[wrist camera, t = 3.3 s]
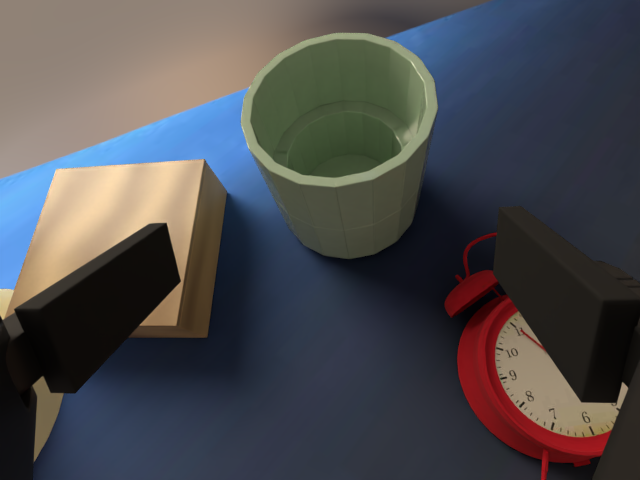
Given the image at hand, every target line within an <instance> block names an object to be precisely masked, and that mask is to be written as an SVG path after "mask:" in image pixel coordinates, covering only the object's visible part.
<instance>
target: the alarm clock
mask: <svg viewBox="0 0 640 480" xmlns="http://www.w3.org/2000/svg"><path fill="white" fill-rule="evenodd" d="M496 235H497V232H496V233H491V234H488V235H485V236H482V237H479V238H477V239H476V240H474V241H472V242H471V243H470V244H469V245H468V246H467V247H466V249H465V250H464V254H463V263H464V267H465V271H466V278H465V279H464V280H463V279H462V278H461V277H460V276H459V275H456V276H455V278H456V279H457V280H458V281H459V282H460V284H458V285H457V286H456V287H455V288H454V289H453V290H452V291H451V292H450V293H449V295H448V296H447V298H446V300H445V304H444V305H445V309H446V311H447V313H448V314H449V315H450V317H451V318H452V317H454V316H456V315H457V314H459V313H461V312H462V311H464V310H465V309H466V308H468V307H469V306H471V305H472V304H474V303H475V302H476V301H478V300H479V299H480V298H482V297H483V296H484V295H486V294H487V293H488V292H489V291H491V290H493V291H494V292H495V293H496V294H497V295H498V296H499V297H497V298H495V299H493V300H491V301H490V302H488V303H487V304H485V305H484V306H483V307H482V308H480V309H479V310H478V311H477V312H476V313H475V314H474V315H473V316H472V318H471V319H470V320H469V322H468V323H467V325H466V327H465V329H464V330H463V333H462V336H461V338H460V342H459V346H458V354H457V366H458V374H459V379H460V383H461V386H462V389H463V392H464V395H465V397H466V399H467V401H468V403H469V405H470V407H471V408H472V410H473V411H474V413H475V414H476V416H477V417H478V418H479V420H480V421H481V422H482V423H483V424H484V425H485V427H486V428H487V429H488V430H489V431H490V432H491V433H493V434H494V435H495V436H496V437H497V438H499V439H500V440H501V441H502V442H504V443H505V444H507V445H508V446H510V447H512V448H513V449H515V450H517V451H519V452H521V453H524V454H526V455H528V456H531V457H534V458H537V459H541V460H542V468H541V470H542V476H541V480H546V476H547V472H548V462H549V461H550V462H559V463H574V466H573V467H578V466H582V465H587V464H591V463H590V460H589V459H591V458H594V457H599V456H601V455H602V453H603V450H604V448H605V445H606V443H607V440H608V438H609V435H610V433H611V430H612V428H613V425H614V423H615V420H616V418H617V415H618V413H619V410H620V408H621V405H622V403H623V400H624V398H625V395H626V393H627V390H628V387H627V386H626V385H625V384H624V383H623V382H622V386H621V390H620V394H619V398H618V401H617V403H581V401H580V400H579V398H578V397H577V396H576V394H575V393H574V391H573V390H572V388H571V387H570V385H569V384H568V382H567V381H566V380H565V378H564V377H563V375H562V374H561V372H560V371H559V369H558V368H557V366H556V365H555V364H554V362H553V361H552V359H551V358H550V356H549V355H548V353H547V352H546V350H545V349H544V348H543V346H542V345H541V343H540V342H539V340H538V339H537V337H536V336H535V334H534V333H533V332H532V330H531V329H530V327H529V326H528V324H527V323H526V321H525V320H524V318H523V317H522V316H521V314H520V313H519V311H518V310H517V308H516V307H515V305H514V304H513V302H512V301H511V300H510V298H509V297H508V295H507V294H506V295H503V296H501V295H500V294H499V293H498V292H497V291H496V290H495V289H494V287H495V286H497V285H498V284H499V282H498V281H497V279H496V278H495V276H494V275H493V271H490V270H483V271H480V272H477V273H475V274H473V275H471V276H470V272H469V268H468V264H467V253H468V251H469V249H470V248H471V247H472V246H473V245H474V244H476V243H477V242H479V241H481V240H484V239H487V238H490V237H494V236H496Z"/></svg>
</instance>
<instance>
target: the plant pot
mask: <svg viewBox="0 0 640 480" xmlns="http://www.w3.org/2000/svg"><path fill="white" fill-rule="evenodd" d="M437 111H438V103H437V96H436V88H435V81H434V79H433V77H432V76H431V74H430V73H429V71H428V70H427V68H426V67H425V65H424V64H423V62H422V61H421V59H420V58H419V57H418V56H416V55H415V54H413V53H412V52H410V51H409V50H407V49H406V48H404V47H403V46H402V45H400V44H399V43H397V42H395V41H392V40H388V39H385V38H381V37H378V36H375V35H371V34H367V33H333V34H329V35H325V36H321V37H316V38H312V39H308V40H305V41H303V42H301V43H299V44H297V45H295V46H293V47H292V48H289V49H287V50H285V51H284V52H281V53H280V54H278V55H277V56H276V57H275V58H274V59H273V60H271V61H270V62H269V63H268V64H267V65H266V66H265V67H264V68H263V69H262V70H261V71H259V72H258V74H257V75H256V77H255V79H254V81H253V82H252V84H251V86H250V88H249V89H248V91H247V93H246V95H245V97H244V101H243V109H242V116H241V127H242V130H243V133H244V136H245V139H246V142H247V145H248V148H249V150H250V152H251V154H252V156H253V158H254V160H255V162H256V164H257V166H258V168H259V170H260V172H261V174H262V176H263V178H264V180H265V182H266V184H267V186H268V188H269V190H270V192H271V194H272V196H273V198H274V200H275V202H276V204H277V206H278V208H279V210H280V212H281V214H282V216H283V218H284V220H285V222H286V224H287V226H288V227H289V229H290V230H291V231H292V232H293V234H294V235H295V236H296V237H297V238H298V239H299V240H300V242H301V243H302V244H303V245H305V246H306V247H308V248H310V249H312V250H314V251H316V252H318V253H320V254H322V255H325V256H330V257H337V258H344V259H353V258H358V257H363V256H368V255H373V254H376V253H378V252H379V251H381V250H383V249H385V248H386V247H388V246H390V245H392V244H393V243H395V242H396V241H397V240H398V239H399V238H400V237H401V236H402V234H403V233H404V232H405V231H406V230H407V229H408V227H409V226H410V225H411V224H412V221H413V218H414V215H415V212H416V209H417V206H418V203H419V198H420V193H421V188H422V184H423V179H424V174H425V169H426V164H427V159H428V155H429V150H430V145H431V140H432V135H433V130H434V126H435V121H436V116H437Z"/></svg>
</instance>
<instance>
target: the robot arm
mask: <svg viewBox="0 0 640 480" xmlns="http://www.w3.org/2000/svg"><path fill="white" fill-rule="evenodd" d="M493 275H494V276H495V278H496V279H497V281H498V282H499V284H500V285H501V286H502V288H503V289H504V291H505V292H506V294H507V295H508V297H509V298H510V300H511V301H512V302H513V304H514V305H515V307H516V308H517V310H518V311H519V313H520V314H521V316H522V317H523V318H524V320H525V321H526V323H527V324H528V326H529V327H530V329H531V330H532V332H533V333H534V334H535V336H536V337H537V339H538V340H539V342H540V343H541V345H542V346H543V348H544V349H545V350H546V352H547V353H548V355H549V356H550V358H551V359H552V361H553V362H554V364H555V365H556V366H557V368H558V369H559V371H560V372H561V374H562V375H563V377H564V378H565V380H566V381H567V382H568V384H569V385H570V387H571V388H572V390H573V391H574V393H575V394H576V396H577V397H578V398H579V400H580V401H581V403H617V401H618V398H619V394H620V390H621V386H622V382H623V383H624V384H625V385H626V386H627V387H628V390H627V393H626V395H625V398H624V400H623V403H622V405H621V408H620V410H619V413H618V415H617V418H616V420H615V423H614V425H613V428H612V430H611V433H610V435H609V438H608V440H607V443H606V445H605V448H604V450H603V453H602V455H601V458H600V460H599V463H598V465H597V468H596V470H595V473H594V475H593V478H592V480H640V283H639V282H638V281H636V280H633V278H632V277H631V276H629V275H628V274H626V273H625V272H624V271H622V270H621V269H619V268H617V267H614V266H612V265H609V264H607V263H604V262H602V261H593V260H591V259H590V258H589V257H587V256H586V255H585V254H583V253H582V252H581V251H579V250H578V249H577V248H575V247H574V246H573V245H571V244H570V243H569V242H568V241H566V240H565V239H564V238H562V237H561V236H560V235H558V234H557V233H556V232H554V231H553V230H552V229H550V228H549V227H548V226H546V225H545V224H544V223H543V222H541V221H540V220H539V219H537V218H536V217H535V216H533V215H532V214H531V213H529V212H528V211H527V210H525V209H524V208H523V207H521V206H515V207H499V214H498V225H497V235H496V246H495V257H494V268H493ZM180 282H181V279H180V275H179V271H178V267H177V263H176V259H175V255H174V251H173V247H172V243H171V238H170V234H169V230H168V226H167V223H149V224H148V225H146V226H145V227H143V228H141V229H140V230H138V231H137V232H135V233H134V234H132V235H130V236H129V237H127V238H126V239H124V240H122V241H121V242H119V243H118V244H116V245H115V246H113V247H111V248H110V249H108V250H107V251H105V252H103V253H102V254H100V255H99V256H97V257H96V258H94V259H92V260H91V261H89V262H88V263H86V264H84V265H83V266H81V267H80V268H78V269H76V270H75V271H73V272H72V273H70V274H69V275H67V276H65V277H64V278H62V279H61V280H59V281H57V282H56V283H54V284H53V285H51V286H50V287H48V288H46V289H45V290H43V291H42V292H40V293H38V294H37V295H35V296H34V297H32V298H31V299H29V300H27V301H26V302H24V303H23V304H21V305H19V306H18V307H16V308H15V309H14V311H15V312H14V313H13V314H11V315H10V316H8V317H7V318H5V319H3V320H2V318H1V316H0V480H33V465H34V447H35V429H36V411H37V395H36V392H35V390H34V388H33V386H32V385H33V384H34V383H36V382H37V381H38V380H39V379H40V378H41V377H42V376H43V377H44V379H45V381H46V384H47V386H48V388H49V390H50V393H76V392H77V391H78V390H79V389H80V388H81V387H82V386H83V384H84V383H85V382H86V381H87V380H88V379H89V378H90V377H91V376H92V375H93V374H94V373H95V372H96V371H97V370H98V369H99V368H100V367H101V365H102V364H103V363H104V362H105V361H106V360H107V359H108V358H109V357H110V356H111V355H112V354H113V353H114V352H115V351H116V350H117V349H118V348H119V346H120V345H121V344H122V343H123V342H124V341H125V340H126V339H127V338H128V337H129V336H130V335H131V334H132V333H133V332H134V331H135V330H136V329H137V327H138V326H139V325H140V324H141V323H142V322H143V321H144V320H145V319H146V318H147V317H148V316H149V315H150V314H151V313H152V312H153V311H154V310H155V308H156V307H157V306H158V305H159V304H160V303H161V302H162V301H163V300H164V299H165V298H166V297H167V296H168V295H169V294H170V293H171V292H172V291H173V289H174V288H175V287H176V286H177V285H178V284H179V283H180Z"/></svg>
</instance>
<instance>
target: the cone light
mask: <svg viewBox="0 0 640 480" xmlns="http://www.w3.org/2000/svg"><path fill="white" fill-rule="evenodd" d="M13 292H14V290H11V289H0V316H1V318H2V320H3V319H4V318H5V315H6V312H7V309H8V306H9V303H10V301H11V298H12V295H13ZM32 386H33V388H34V390H35V392H36V395H37V411H36V429H35V447H34V461H35V460H36V458H37V457H38V455H39V453H40V451H41V449H42V448H43V446H44V444H45V442H46V441H47V439H48V437H49V435H50V432H51V430H52V428H53V425H54V423H55V420H56V418H57V415H58V413H59V409H60V405H61V401H62V398H63V394H64V393H50V390H49V388H48V386H47V384H46V381H45V379H44V377H43V376H42V377H41V378H40V379H39V380H38V381H37V382H36V383H34V384H33V385H32Z"/></svg>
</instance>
